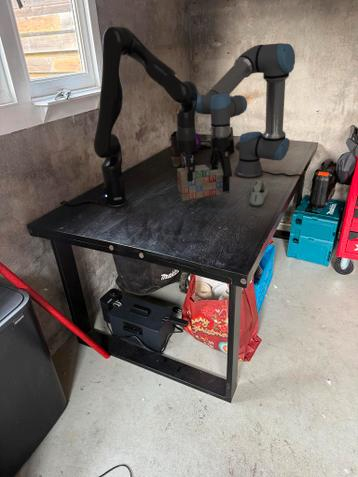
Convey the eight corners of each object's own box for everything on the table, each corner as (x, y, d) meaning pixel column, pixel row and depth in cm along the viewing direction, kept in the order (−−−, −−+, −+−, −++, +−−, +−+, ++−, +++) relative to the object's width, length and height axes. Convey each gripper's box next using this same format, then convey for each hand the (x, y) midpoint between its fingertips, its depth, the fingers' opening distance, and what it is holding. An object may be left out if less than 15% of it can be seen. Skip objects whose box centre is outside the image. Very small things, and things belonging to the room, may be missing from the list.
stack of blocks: (224, 188, 148) (224, 161, 141) (229, 193, 142) (230, 165, 136) (178, 195, 144) (176, 168, 137) (182, 201, 138) (180, 173, 132)
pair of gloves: (199, 150, 238) (199, 143, 235) (184, 143, 258) (184, 136, 255) (235, 144, 247) (235, 137, 245) (218, 137, 268) (218, 131, 265)
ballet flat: (269, 188, 169) (270, 173, 165) (265, 208, 149) (266, 191, 145) (252, 187, 171) (253, 172, 167) (246, 206, 151) (247, 190, 147)
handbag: (222, 160, 214) (223, 120, 202) (210, 158, 219) (210, 119, 206) (235, 152, 229) (236, 114, 217) (223, 150, 234) (224, 113, 221)
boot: (189, 157, 225) (188, 126, 215) (182, 168, 205) (180, 135, 195) (176, 157, 227) (175, 126, 217) (168, 168, 206) (166, 135, 196)
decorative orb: (204, 151, 235) (204, 129, 228) (194, 156, 225) (193, 134, 217) (186, 149, 243) (186, 128, 235) (175, 154, 232) (174, 132, 224)
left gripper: (172, 134, 134) (174, 174, 143) (182, 143, 122) (183, 185, 130) (190, 133, 136) (191, 172, 144) (201, 140, 124) (201, 183, 132)
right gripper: (201, 130, 142) (202, 177, 153) (223, 144, 121) (222, 197, 132) (218, 129, 143) (217, 175, 154) (241, 142, 122) (239, 194, 133)
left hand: (187, 178), depth 137 cm, fingers closed on stack of blocks, 6 cm apart
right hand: (220, 185), depth 143 cm, fingers open, 13 cm apart
